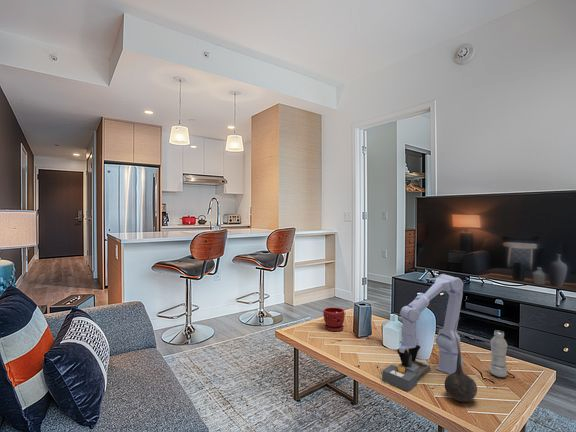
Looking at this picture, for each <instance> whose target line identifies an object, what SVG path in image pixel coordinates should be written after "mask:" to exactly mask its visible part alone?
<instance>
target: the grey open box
mask: <svg viewBox="0 0 576 432" xmlns="http://www.w3.org/2000/svg"><path fill="white" fill-rule="evenodd" d="M381 372H382V373H381V381H382V382H384V383H387V384H389V385H392V386H395V387H396V388H398V389H400V390H401V389H402V390H404V391H406V392H410V391H411V390H412V389H414V388H415V387H417V386H418V382H417V374H416V373H413V372H410V371H408V370H405V373H404V374H402V373H399V372H398V365H394V364H389V365H388V366H386V367H385V368H384V369H382V370H381Z"/></svg>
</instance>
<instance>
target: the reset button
mask: <svg viewBox="0 0 576 432" xmlns="http://www.w3.org/2000/svg"><path fill="white" fill-rule="evenodd" d="M398 365H399V366H398ZM398 365H397V367H398V372H399V373H402V374H404V373H405V367H404V366H402V365H400V364H398Z"/></svg>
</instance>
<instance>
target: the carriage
mask: <svg viewBox="0 0 576 432" xmlns="http://www.w3.org/2000/svg"><path fill="white" fill-rule="evenodd" d="M411 363H412V355H410V357H409V360H408V366H407V368H406V367H405V370H408V371H410V372H413V373H416V374H418V373H419V366H416V365H413V364H411ZM399 365H402V363H401V362H400V364H398V365H397V367H398V366H399Z"/></svg>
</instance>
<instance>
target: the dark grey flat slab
mask: <svg viewBox="0 0 576 432" xmlns="http://www.w3.org/2000/svg"><path fill="white" fill-rule="evenodd" d="M411 364H413V365H416V366H419V373H418V374H417V383H418V382H419V381H420V380H421V379H422V378H423V377H425V376H426V375H427V374H428V373H430V372H431V365H429V364H427V363H425V362H424V363H423V362H422V361H419V360H417V359H416V360H415V362H413V361H412V363H411Z"/></svg>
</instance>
